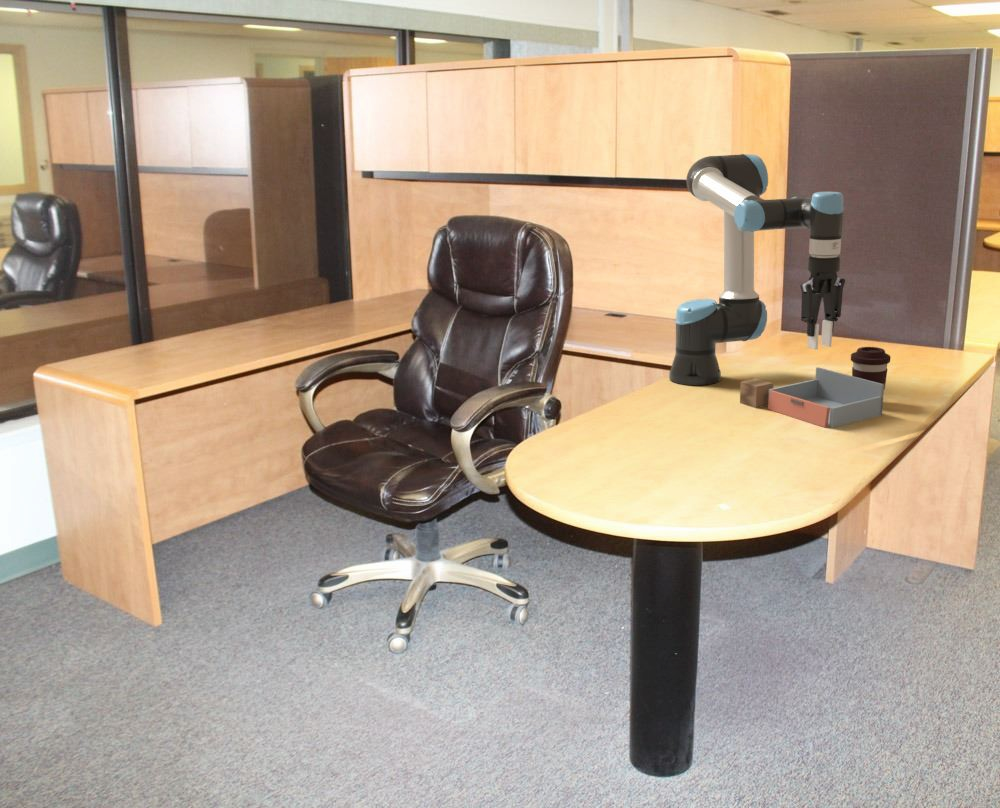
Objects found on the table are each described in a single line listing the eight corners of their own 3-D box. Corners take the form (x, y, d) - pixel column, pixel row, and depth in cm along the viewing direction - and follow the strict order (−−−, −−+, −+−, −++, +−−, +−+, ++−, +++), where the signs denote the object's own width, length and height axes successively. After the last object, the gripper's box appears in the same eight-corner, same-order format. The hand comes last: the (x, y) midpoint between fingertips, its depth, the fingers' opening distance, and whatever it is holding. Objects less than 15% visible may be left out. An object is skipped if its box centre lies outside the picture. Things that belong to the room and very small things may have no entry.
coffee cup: (889, 409, 268) (893, 354, 264) (850, 408, 270) (853, 353, 266) (883, 398, 278) (887, 345, 274) (845, 398, 280) (849, 344, 276)
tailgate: (766, 409, 269) (769, 390, 267) (770, 408, 269) (772, 390, 268) (823, 427, 252) (826, 407, 251) (827, 427, 253) (830, 407, 252)
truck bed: (767, 410, 271) (769, 377, 268) (816, 399, 279) (818, 367, 277) (831, 431, 252) (833, 396, 250) (881, 418, 261) (884, 384, 258)
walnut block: (739, 406, 275) (740, 381, 274) (756, 403, 278) (757, 378, 276) (755, 411, 270) (756, 386, 269) (772, 408, 273) (773, 383, 271)
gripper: (811, 260, 245) (806, 354, 252) (860, 253, 253) (854, 345, 260) (788, 257, 252) (783, 349, 258) (837, 250, 260) (831, 339, 266)
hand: (819, 346), depth 259 cm, fingers open, 4 cm apart
